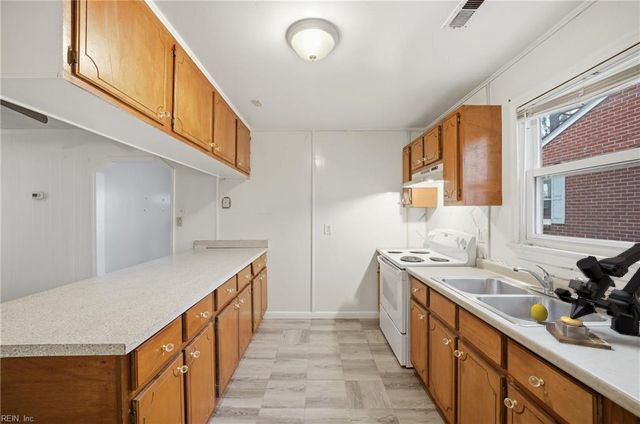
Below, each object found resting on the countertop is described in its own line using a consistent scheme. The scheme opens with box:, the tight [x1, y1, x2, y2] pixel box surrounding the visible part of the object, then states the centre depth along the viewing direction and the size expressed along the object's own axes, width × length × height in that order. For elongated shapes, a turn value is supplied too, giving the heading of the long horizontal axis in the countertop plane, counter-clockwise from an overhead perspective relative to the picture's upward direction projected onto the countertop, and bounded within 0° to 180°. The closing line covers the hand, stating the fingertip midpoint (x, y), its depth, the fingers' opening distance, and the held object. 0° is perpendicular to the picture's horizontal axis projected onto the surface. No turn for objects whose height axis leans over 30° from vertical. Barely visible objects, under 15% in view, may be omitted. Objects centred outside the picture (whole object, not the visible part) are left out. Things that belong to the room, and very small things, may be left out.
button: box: [560, 315, 584, 327], centre depth 103 cm, size 6×6×5 cm
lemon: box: [530, 302, 549, 324], centre depth 116 cm, size 6×6×8 cm
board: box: [545, 318, 612, 351], centre depth 102 cm, size 14×12×5 cm
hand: (571, 318), depth 103 cm, fingers closed, pressing on button
